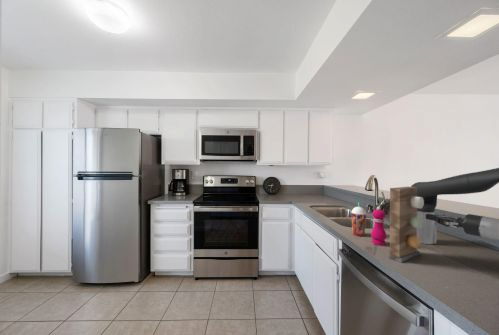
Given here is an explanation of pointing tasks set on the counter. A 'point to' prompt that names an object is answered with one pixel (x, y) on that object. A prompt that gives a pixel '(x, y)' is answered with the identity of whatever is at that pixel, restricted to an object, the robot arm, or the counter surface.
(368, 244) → the counter surface
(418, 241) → the orange button
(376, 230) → the pepper mill
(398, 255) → the walnut button panel
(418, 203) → the cream button
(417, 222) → the sage button
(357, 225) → the smoothie
